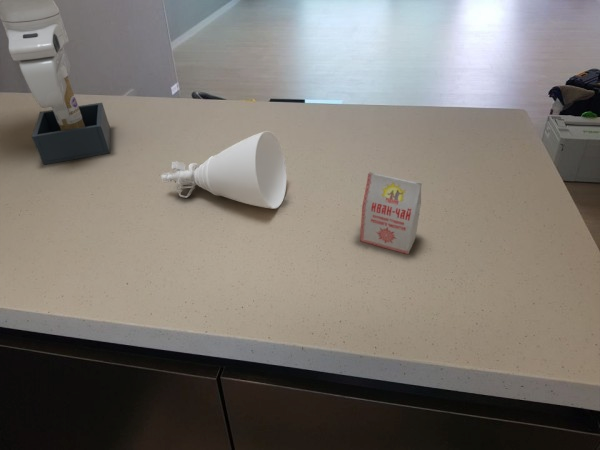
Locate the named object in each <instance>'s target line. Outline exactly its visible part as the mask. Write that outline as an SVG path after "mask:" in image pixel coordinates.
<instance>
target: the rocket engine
mask: <svg viewBox="0 0 600 450" xmlns="http://www.w3.org/2000/svg"><path fill="white" fill-rule="evenodd" d="M171 170H174V172H172V171H171ZM171 170H170V171H169V172H167V171H164V172H163V174H161V175H160V180H161V182H162V183H164V184H165V183H173V182H174V183H177V185H178V186H177V187H176V188H177V190H176V192H177V193H178V196H179V197H180V198H185V199H187V198H189V197H190V196H191V194H192V193H193V191H194V190H195V189H196V186H197V187H198V188H202V190H206V191H208V192H209V193H211V194H212V195H214V196H221V197H224V198H226V199H230V200H232V201H237V202H239V203H242V204H246V205H250V206H255V207H259V208H265V209H274V210H276V209H278V208H279V207H280V206H281V205H282V203H283V201H284V199H285V195H286V192H287V191H286V190H287V178H288V177H287V164H286V160H285V154H284V152H283V148H282V145H281V143H280V141H279V139H278V138H277V136H276V135H275V134H274V133H273V132H272V131H269V130H264V131H261V132H258V133H256V134H253V135H251V136H249V137H246V138H244V139H242V140H240V141H238V142H236V143H234V144H233V145H230V146H229V147H227V148H225V149H224V150H222V151H220V152H218V153H216V154H215V155H211V156H209V157H208V158H207V159H206V160H205V161H204V162H203V163H201V164H200V165H199V164H198V163H197V162H191V163H189V164H188V169H186V163H184V162H182V161H177V160H176V161H171ZM183 189H189V191H188V193H187V195H183V194H182V192H183Z"/></svg>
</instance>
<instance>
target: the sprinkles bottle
mask: <svg viewBox="0 0 600 450" xmlns="http://www.w3.org/2000/svg"><path fill="white" fill-rule="evenodd" d="M60 68H61V72H62V74H63V77H64V78H65V81H66V85H67V88H66V92H65V96H64V101H65V103H66V106H68V109H69V112H70V117H69V118H68V119H60V118H59V117H58V114H57V112H56V110H55V109H54V107H51V110H53V112H54V114H55V117H56V119H57V122H58V124H59V126H60V128H61V131H62V130H68V129H75V128H81V127H85V125H84V122H83V119H82V115H81V112H80V110H79V107H78V106H79V105H78V101H77V99H76V97H75V93H74V91H73V88H72V86H71V83H70V80H69V79H68V76H67V75H68V74H67V71H66V68H65V66H64V65H63V64H61V67H60Z"/></svg>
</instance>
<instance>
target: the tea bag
mask: <svg viewBox="0 0 600 450" xmlns="http://www.w3.org/2000/svg"><path fill="white" fill-rule="evenodd" d="M364 190H365V191H364V195H363V201H362V205H361V206H362V208H361V220H360V221H361V222H360V237H359V238H360V239H359V241H360V242H362V243H365V244H369V245H373V246H377V247H379V248H384V249H387V250H391V251H395V252H398V253H401V254H402V253H403V254H405V255H409V253H410V251H411V250H412V247H413V245H414V242H415V240H416V238H417V231H418V224H419V219H420V212H421V206H422V183H421V182H417V181H412V180H409V179H404V178H398V177H393V176H389V175H384V174H381V173H380V174H379V173H375V172H371V171H369V172H368V173H367V180H366V185H365V189H364Z"/></svg>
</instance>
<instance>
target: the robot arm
mask: <svg viewBox="0 0 600 450" xmlns="http://www.w3.org/2000/svg"><path fill="white" fill-rule="evenodd" d="M0 21H1V22H2V25H3V28H4V31H5V34H6V37H7V39H8V52H9V54H10V57H11V59H12V61H14V62H18V65H19V68H20V71H21V74H22V76H23V78H24V80H25V82H26V85H27V86H28V88H29V91H30V93H31V94H32V96H33V98H34V101H35V102H36V103H37V104H38V106H39V107H41V108H42V109H45V108H52V107H54V109H55V110H56V112H57V114H58V117H59V118H60V119H68V118H69V117H70V112H69V109H68V106H66V103H65V101H64V96H65V92H66V88H67V85H66V81H65V78H64V77H63V74H62V72H61V68H60V67H61V64H63V65H64V66H65V68H66V71H67V74H68V75H67V76H68V80H69V79H70V75H71V69H72V67H71V63H70V60H69V57H68V55H67V52H66V50H65V45H66V44H68V43H69V41H70V38H69V36H68V33H67V30H66V28H65V27H66V26H65V23H64V21H63V17H62V15H61V11H60V9H59V6H58V5H57V3H56V2H55V0H0Z"/></svg>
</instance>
